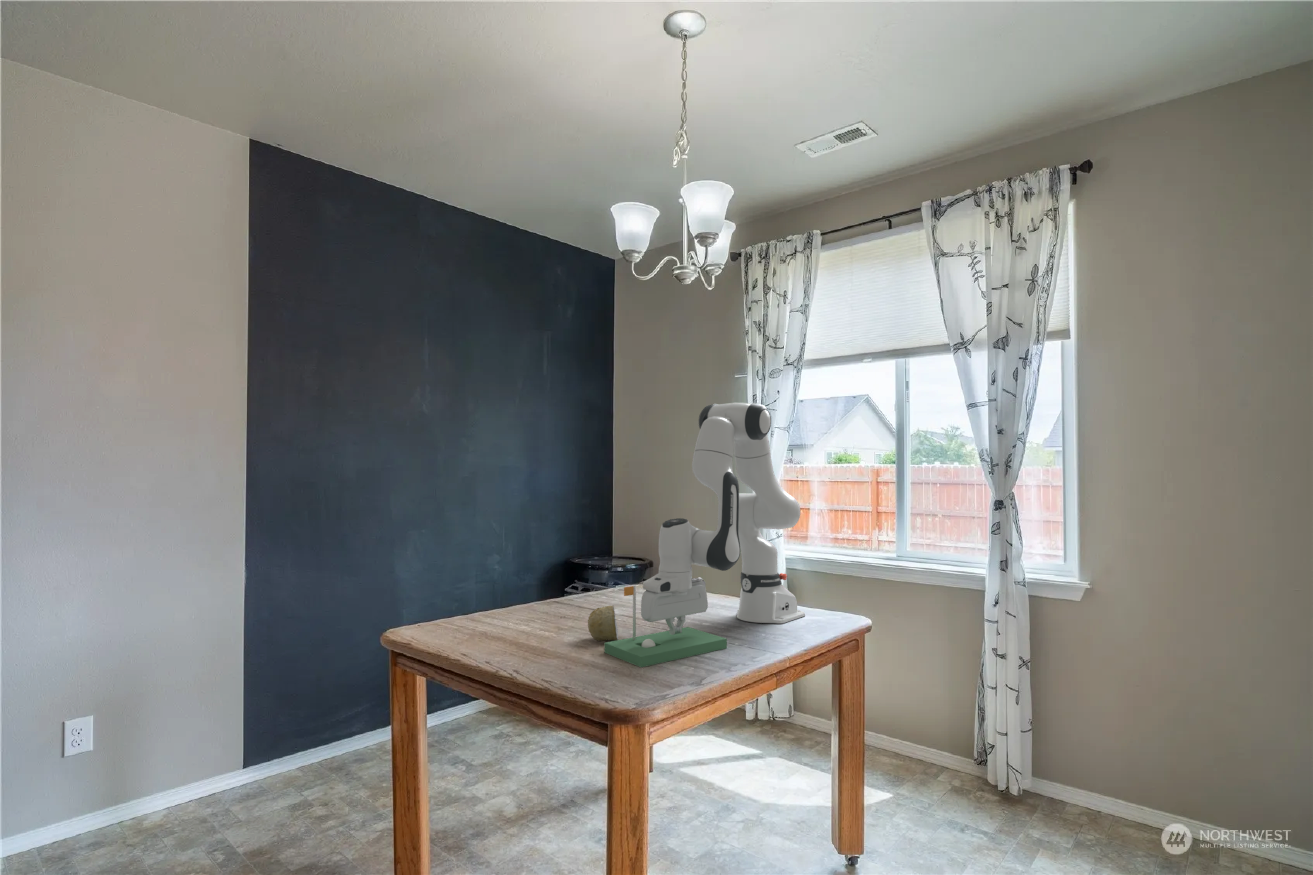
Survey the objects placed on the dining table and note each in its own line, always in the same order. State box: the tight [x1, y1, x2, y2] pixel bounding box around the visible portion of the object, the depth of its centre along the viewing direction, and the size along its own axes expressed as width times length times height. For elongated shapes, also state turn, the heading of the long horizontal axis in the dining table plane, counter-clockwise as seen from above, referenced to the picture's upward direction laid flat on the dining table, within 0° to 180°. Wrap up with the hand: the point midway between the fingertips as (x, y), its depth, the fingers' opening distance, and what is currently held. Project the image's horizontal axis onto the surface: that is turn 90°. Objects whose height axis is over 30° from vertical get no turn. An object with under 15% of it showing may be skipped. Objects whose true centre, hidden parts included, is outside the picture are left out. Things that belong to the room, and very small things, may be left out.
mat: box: [603, 585, 728, 668], centre depth 180 cm, size 28×16×16 cm, turn 127°
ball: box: [642, 639, 655, 648], centre depth 176 cm, size 4×4×4 cm
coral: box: [587, 605, 619, 642], centre depth 190 cm, size 10×10×10 cm
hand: (675, 633), depth 182 cm, fingers closed
